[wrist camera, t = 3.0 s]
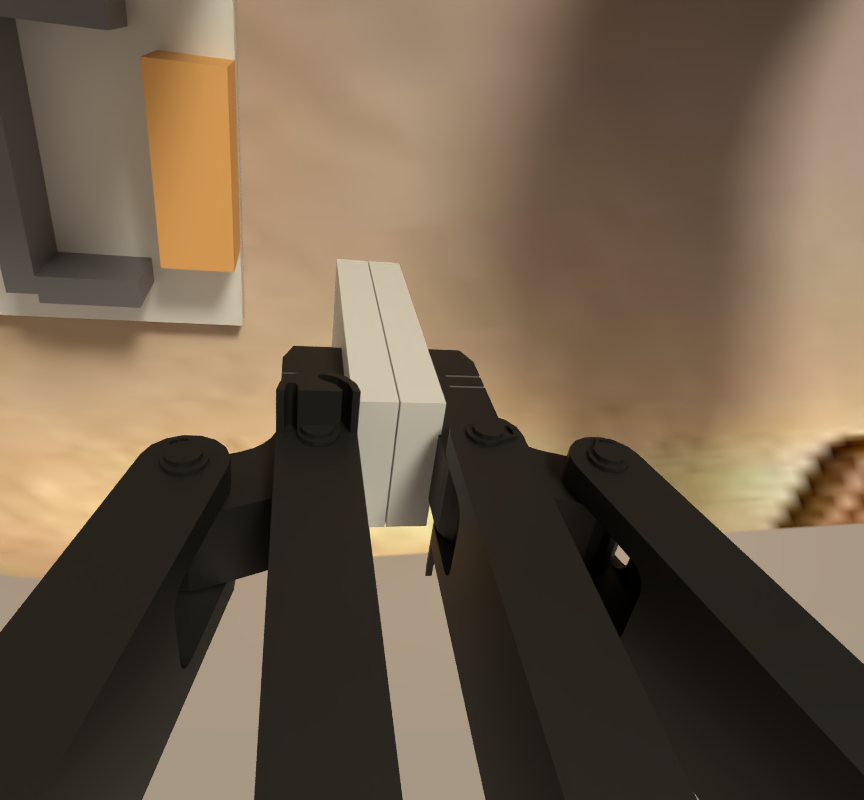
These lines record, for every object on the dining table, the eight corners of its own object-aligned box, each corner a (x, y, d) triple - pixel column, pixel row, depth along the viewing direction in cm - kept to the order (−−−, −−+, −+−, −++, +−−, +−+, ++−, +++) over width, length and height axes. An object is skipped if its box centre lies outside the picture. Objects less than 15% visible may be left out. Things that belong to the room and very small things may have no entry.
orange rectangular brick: (156, 50, 26) (140, 56, 23) (234, 59, 26) (227, 67, 24) (173, 244, 30) (160, 267, 27) (240, 249, 30) (234, 272, 28)
